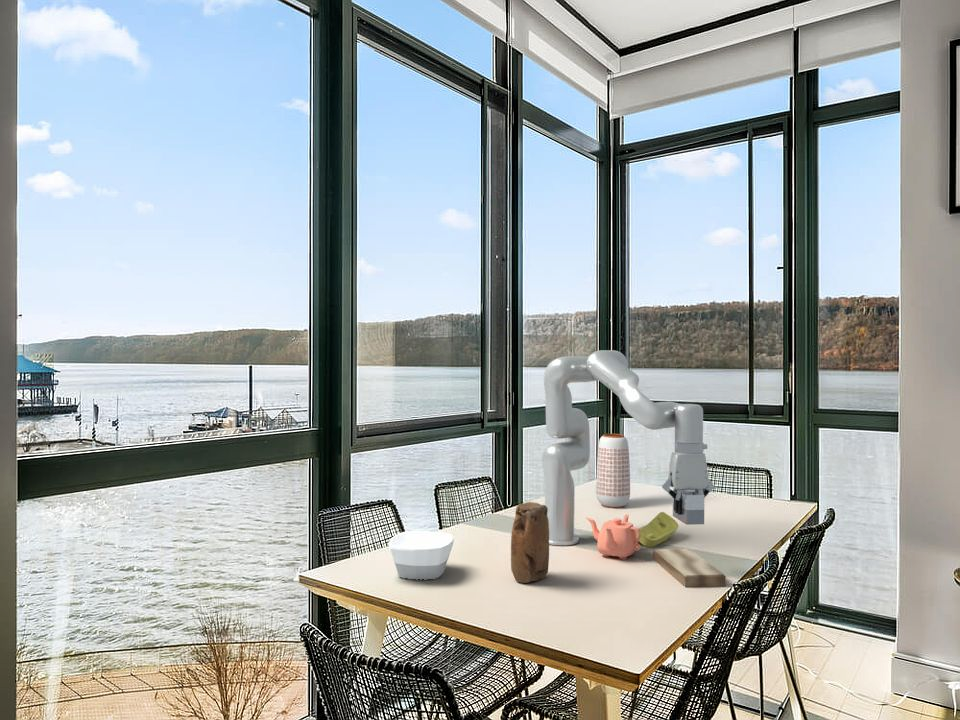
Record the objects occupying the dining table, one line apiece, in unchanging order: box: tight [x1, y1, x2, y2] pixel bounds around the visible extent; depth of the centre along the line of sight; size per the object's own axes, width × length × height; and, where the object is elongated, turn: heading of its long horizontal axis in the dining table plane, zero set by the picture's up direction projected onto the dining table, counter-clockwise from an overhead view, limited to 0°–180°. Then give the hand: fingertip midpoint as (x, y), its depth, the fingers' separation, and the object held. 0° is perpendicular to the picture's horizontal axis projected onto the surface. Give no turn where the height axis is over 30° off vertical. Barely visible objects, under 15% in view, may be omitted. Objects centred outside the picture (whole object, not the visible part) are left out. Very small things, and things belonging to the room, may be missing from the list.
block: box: [510, 501, 550, 584], centre depth 188 cm, size 11×8×20 cm
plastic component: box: [635, 511, 679, 548], centre depth 228 cm, size 20×7×10 cm
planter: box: [595, 433, 631, 509], centre depth 276 cm, size 13×13×28 cm
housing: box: [672, 487, 705, 526], centre depth 194 cm, size 5×10×8 cm, turn 6°
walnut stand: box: [652, 548, 727, 588], centre depth 195 cm, size 11×24×3 cm, turn 6°
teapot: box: [585, 514, 642, 561], centre depth 210 cm, size 14×14×11 cm
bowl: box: [388, 530, 455, 581], centre depth 192 cm, size 18×18×9 cm
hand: (688, 512), depth 194 cm, fingers closed on housing, 5 cm apart
